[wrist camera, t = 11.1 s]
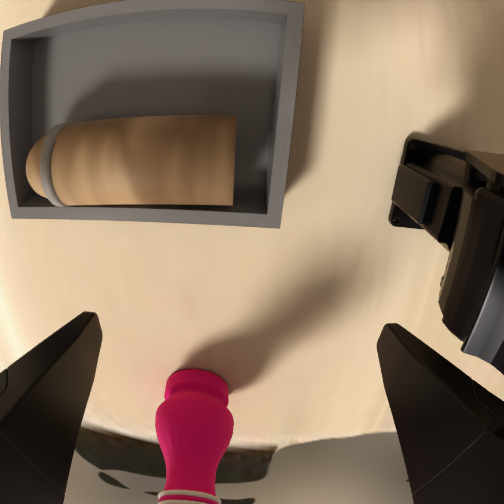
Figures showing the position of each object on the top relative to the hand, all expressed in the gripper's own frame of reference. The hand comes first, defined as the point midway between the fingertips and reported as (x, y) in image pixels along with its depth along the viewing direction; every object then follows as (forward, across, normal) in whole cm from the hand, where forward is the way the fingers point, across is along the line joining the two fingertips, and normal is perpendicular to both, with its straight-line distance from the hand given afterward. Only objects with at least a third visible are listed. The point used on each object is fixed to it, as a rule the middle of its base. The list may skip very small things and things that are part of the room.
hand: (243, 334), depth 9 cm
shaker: (+10, 0, -3) cm, 10 cm away
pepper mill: (+13, +3, +20) cm, 24 cm away
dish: (+13, +6, -6) cm, 16 cm away
